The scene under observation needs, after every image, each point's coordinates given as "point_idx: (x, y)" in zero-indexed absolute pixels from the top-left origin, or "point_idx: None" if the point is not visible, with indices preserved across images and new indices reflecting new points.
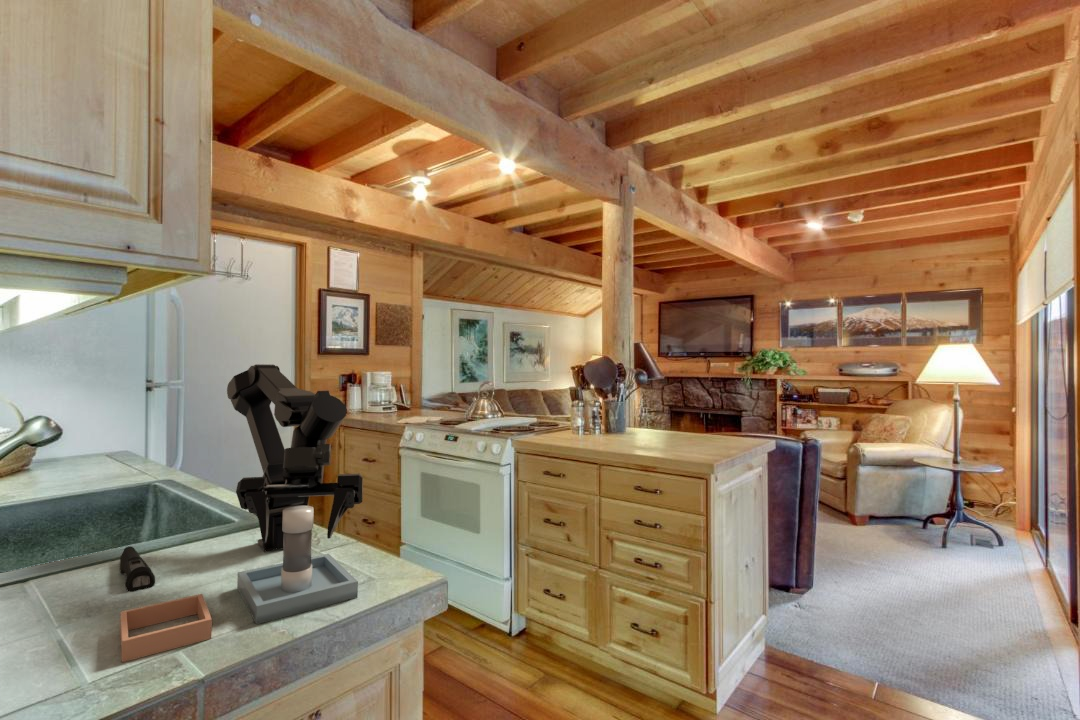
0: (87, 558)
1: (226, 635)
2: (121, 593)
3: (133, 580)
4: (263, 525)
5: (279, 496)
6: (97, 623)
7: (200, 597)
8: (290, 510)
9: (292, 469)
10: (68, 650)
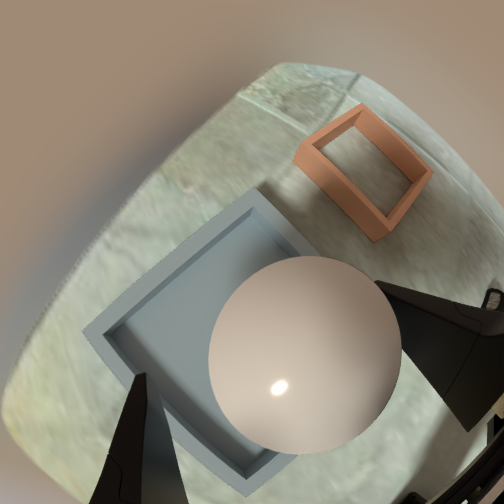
0: None
1: (276, 170)
2: (490, 284)
3: (498, 293)
4: (416, 299)
5: (486, 446)
6: (452, 203)
7: (381, 216)
8: (352, 322)
9: None
10: (421, 148)
